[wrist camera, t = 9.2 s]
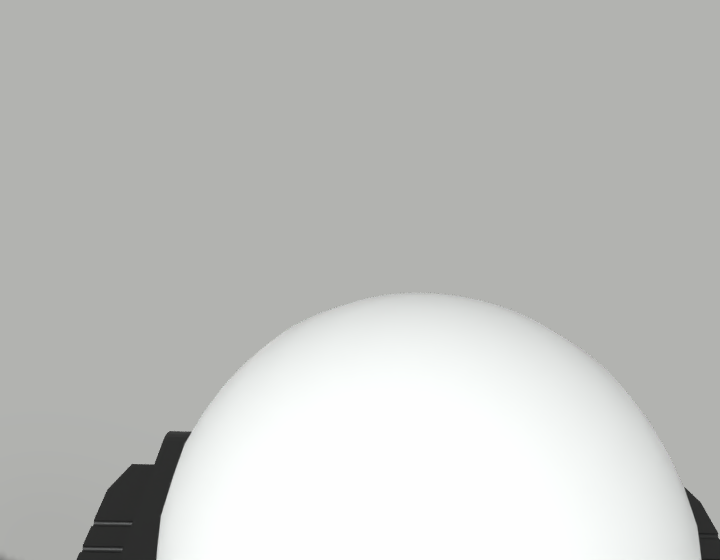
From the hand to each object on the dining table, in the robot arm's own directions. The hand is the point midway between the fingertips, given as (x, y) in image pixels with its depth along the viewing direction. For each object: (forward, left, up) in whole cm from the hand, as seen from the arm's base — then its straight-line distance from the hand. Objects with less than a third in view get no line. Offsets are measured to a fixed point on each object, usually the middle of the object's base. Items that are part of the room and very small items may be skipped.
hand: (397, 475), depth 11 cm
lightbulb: (0, +3, -7) cm, 7 cm away
